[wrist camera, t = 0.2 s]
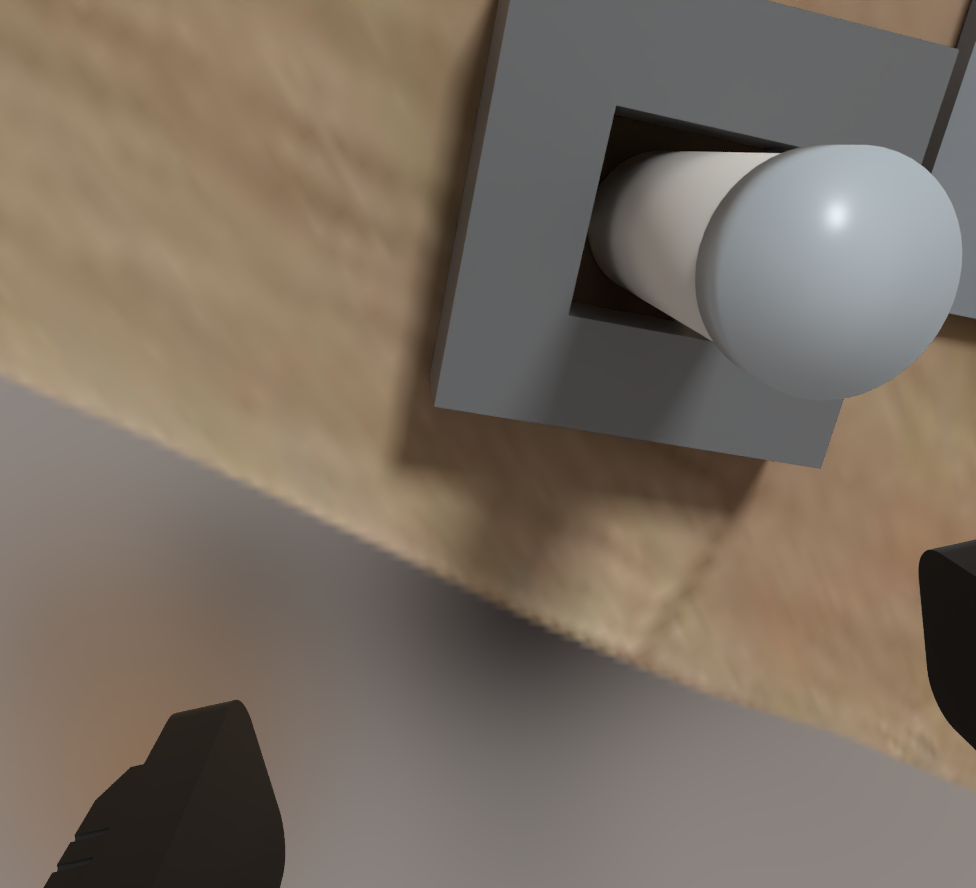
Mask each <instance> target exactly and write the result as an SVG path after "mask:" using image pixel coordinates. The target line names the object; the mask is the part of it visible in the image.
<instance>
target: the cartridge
mask: <svg viewBox="0 0 976 888" xmlns="http://www.w3.org/2000/svg"><path fill="white" fill-rule="evenodd" d="M588 240H589V244H590V248H591V251H592V254H593V257H594V259H595V260H596V262H597V264H598V266H599V267H600V269H601V270H602V271H603V273H604V274H605V275H606V276H607V277H608V278H609V279H610V280H612V281H613V282H614V283H615V284H617V285H619V286H621V287H622V288H624V289H626V290H627V291H629V292H631V293H632V294H634V295H636V296H637V297H639V298H641V299H642V300H644V301H646V302H647V303H649V304H651V305H652V306H654V307H656V308H657V309H659V310H661V311H662V312H664V313H666V314H667V315H669V316H671V317H672V318H674V319H676V320H678V321H679V322H681V323H683V324H684V325H686V326H688V327H689V328H691V329H693V330H694V331H696V332H698V333H699V334H701V335H703V336H704V337H706V338H708V339H709V340H711V341H713V342H714V343H715V345H716V346H717V348H718V349H719V350H720V351H721V352H722V353H723V354H724V355H725V356H726V357H727V358H728V359H729V360H730V361H731V362H733V363H734V364H735V365H736V366H738V367H739V368H741V369H742V370H744V371H746V372H747V373H749V374H750V375H752V376H754V377H755V378H757V379H758V380H760V381H762V382H763V383H765V384H767V385H768V386H770V387H772V388H773V389H775V390H777V391H780V392H782V393H785V394H787V395H790V396H794V397H798V398H802V399H809V400H836V399H843V398H849V397H852V396H856V395H859V394H862V393H865V392H867V391H870V390H872V389H875V388H877V387H879V386H881V385H882V384H884V383H886V382H888V381H890V380H891V379H893V378H894V377H896V376H897V375H898V374H900V373H901V372H902V371H904V370H905V369H906V368H908V367H909V366H910V365H911V364H912V363H913V362H914V361H915V360H916V359H917V358H918V357H919V356H920V355H921V354H922V353H923V352H924V351H925V350H926V348H927V347H928V346H929V345H930V344H931V342H932V341H933V339H934V338H935V336H936V335H937V334H938V332H939V331H940V329H941V327H942V325H943V323H944V322H945V320H946V318H947V316H948V314H949V311H950V309H951V307H952V304H953V302H954V299H955V296H956V292H957V289H958V285H959V280H960V274H961V269H962V240H961V232H960V227H959V223H958V219H957V216H956V213H955V210H954V208H953V205H952V203H951V201H950V199H949V197H948V195H947V194H946V192H945V190H944V189H943V187H942V186H941V185H940V183H939V182H938V181H937V179H936V178H935V177H934V176H933V175H932V174H931V173H930V172H929V171H928V170H927V169H926V168H924V167H923V166H922V165H920V164H919V163H917V162H916V161H915V160H913V159H912V158H910V157H908V156H906V155H904V154H902V153H900V152H897V151H894V150H891V149H887V148H884V147H879V146H872V145H811V146H804V147H799V148H796V149H792V150H788V151H785V152H783V153H744V152H698V151H651V152H646V153H642V154H639V155H636V156H634V157H631V158H629V159H628V160H626V161H624V162H623V163H621V164H620V165H618V166H617V167H616V168H615V169H613V171H612V172H611V173H610V174H609V175H608V176H607V177H606V178H605V179H604V181H603V182H602V183H601V185H600V186H599V188H598V190H597V192H596V196H595V201H594V205H593V209H592V214H591V218H590V223H589V227H588Z"/></svg>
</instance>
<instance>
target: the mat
mask: <svg viewBox="0 0 976 888" xmlns="http://www.w3.org/2000/svg"><path fill="white" fill-rule="evenodd" d="M956 49H959V52H958V55H957V58H956V61H955V64H954V67H953V70H952V73H951V76H950V80H949V83H948V86H947V89H946V92H945V95H944V98H943V101H942V104H941V107H940V110H939V113H938V116H937V119H936V122H935V125H934V128H933V131H932V134H931V137H930V140H929V143H928V146H927V149H926V152H925V155H924V158H923V161H922V164H921V165H922V166H923V167H924V168H926V169H927V170H928V171H929V172H930V173H931V174H932V175H933V176H934V177H935V178H936V179H937V181H938V182H939V183H940V185H941V186H942V187H943V189H944V190H945V192H946V194H947V195H948V197H949V199H950V201H951V203H952V205H953V208H954V210H955V213H956V216H957V219H958V223H959V227H960V232H961V240H962V269H961V274H960V280H959V285H958V289H957V292H956V296H955V299H954V302H953V304H952V307H951V309H950V311H949V313H950V314H955V315H960V316H965V317H970V318H975V319H976V0H972V2H971V5H970V8H969V11H968V14H967V17H966V20H965V23H964V26H963V29H962V32H961V35H960V39H959V42H958V45H957V48H956Z"/></svg>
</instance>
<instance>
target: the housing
mask: <svg viewBox="0 0 976 888" xmlns="http://www.w3.org/2000/svg"><path fill="white" fill-rule="evenodd" d="M958 52H959V49H956V48H952V47H948V46H944V45H940V44H936V43H932V42H928V41H924V40H920V39H917V38H913V37H909V36H905V35H901V34H897V33H893V32H889V31H885V30H881V29H877V28H873V27H870V26H866V25H862V24H858V23H854V22H850V21H846V20H842V19H838V18H834V17H830V16H826V15H823V14H819V13H815V12H811V11H807V10H803V9H799V8H795V7H791V6H787V5H783V4H780V3H776V2H772V1H768V0H498V6H497V11H496V17H495V22H494V28H493V33H492V39H491V44H490V49H489V55H488V60H487V66H486V71H485V77H484V82H483V88H482V93H481V99H480V104H479V109H478V115H477V120H476V126H475V131H474V137H473V142H472V148H471V153H470V159H469V164H468V169H467V175H466V180H465V186H464V191H463V197H462V202H461V208H460V213H459V218H458V224H457V229H456V235H455V240H454V246H453V251H452V257H451V262H450V268H449V273H448V278H447V284H446V289H445V295H444V300H443V306H442V311H441V317H440V322H439V328H438V333H437V338H436V344H435V349H434V355H433V360H432V366H431V371H430V377H429V383H430V388H431V393H432V399H433V404H434V407H439V408H445V409H451V410H457V411H464V412H470V413H476V414H482V415H489V416H495V417H501V418H507V419H514V420H520V421H526V422H532V423H539V424H545V425H551V426H557V427H564V428H570V429H576V430H582V431H589V432H595V433H601V434H607V435H614V436H620V437H626V438H632V439H639V440H645V441H651V442H657V443H664V444H670V445H676V446H682V447H689V448H695V449H701V450H707V451H714V452H720V453H726V454H732V455H739V456H745V457H751V458H757V459H764V460H770V461H776V462H782V463H789V464H795V465H801V466H807V467H814V468H820V469H821V466H822V463H823V460H824V457H825V454H826V451H827V448H828V445H829V442H830V439H831V436H832V433H833V430H834V427H835V424H836V421H837V418H838V415H839V412H840V409H841V406H842V403H843V400H844V398H843V399H836V400H809V399H802V398H798V397H794V396H790V395H787V394H785V393H782V392H780V391H777V390H775V389H773V388H772V387H770V386H768V385H767V384H765V383H763V382H762V381H760V380H758V379H757V378H755V377H754V376H752V375H750V374H749V373H747V372H746V371H744V370H742V369H741V368H739V367H738V366H736V365H735V364H734V363H733V362H731V361H730V360H729V359H728V358H727V357H726V356H725V355H724V354H723V353H722V352H721V351H720V350H719V349H718V348H717V346H716V345H715V343H714V342H713V341H711V340H709V339H708V338H706V337H704V336H703V335H701V334H699V333H698V332H696V331H694V330H693V329H691V328H689V327H688V326H686V325H684V324H683V323H681V322H677V321H672V320H666V319H661V318H656V317H650V316H645V315H639V314H634V313H629V312H623V311H618V310H612V309H607V308H602V307H596V306H591V305H586V304H580V303H575V302H572V297H573V293H574V289H575V284H576V280H577V275H578V271H579V267H580V262H581V258H582V253H583V249H584V245H585V240H586V236H587V231H588V227H589V223H590V218H591V214H592V209H593V205H594V201H595V196H596V192H597V187H598V183H599V179H600V174H601V170H602V165H603V161H604V157H605V152H606V148H607V143H608V139H609V135H610V130H611V126H612V121H613V117H614V115H617V116H621V117H626V118H630V119H634V120H639V121H643V122H648V123H652V124H657V125H661V126H666V127H670V128H675V129H679V130H683V131H688V132H692V133H697V134H701V135H706V136H710V137H715V138H719V139H724V140H728V141H732V142H737V143H741V144H746V145H750V146H755V147H759V148H764V149H766V153H783V152H785V151H788V150H792V149H796V148H799V147H804V146H811V145H872V146H879V147H884V148H887V149H891V150H894V151H897V152H900V153H902V154H904V155H906V156H908V157H910V158H912V159H913V160H915V161H916V162H917V163H919V164H920V165H921V164H922V161H923V158H924V155H925V152H926V149H927V146H928V143H929V140H930V137H931V134H932V131H933V128H934V125H935V122H936V119H937V116H938V113H939V110H940V107H941V104H942V101H943V98H944V95H945V92H946V89H947V86H948V83H949V80H950V76H951V73H952V70H953V67H954V64H955V61H956V58H957V55H958Z"/></svg>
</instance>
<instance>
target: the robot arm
mask: <svg viewBox="0 0 976 888" xmlns="http://www.w3.org/2000/svg"><path fill="white" fill-rule="evenodd" d="M919 585H920V596H921V606H922V617H923V628H924V639H925V650H926V661H927V671H928V677H929V682H930V685H931V689H932V692H933V694H934V697H935V699H936V702H937V704H938V706H939V708H940V710H941V712H942V713H943V715H944V717H945V718H946V720H947V721H948V722H949V724H950V725H951V726H952V727H953V728H954V729H955V730H956V731H957V732H958V733H959V734H960V735H961V736H962V737H963V738H964V739H965V740H966V741H967V742H968V743H969V744H970V745H971V746H972V747H973V748H974V749H975V750H976V540H972V541H967V542H963V543H958V544H954V545H949V546H944V547H940V548H935V549H931V550H927V551H925V552H924V553H923V554H922V556H921V558H920V562H919ZM284 865H285V838H284V830H283V823H282V819H281V814H280V811H279V808H278V804H277V801H276V798H275V795H274V792H273V788H272V785H271V782H270V779H269V776H268V773H267V769H266V766H265V763H264V760H263V756H262V753H261V750H260V747H259V744H258V740H257V737H256V734H255V731H254V728H253V724H252V721H251V718H250V716H249V714H248V711H247V709H246V707H245V706H244V705H243V703H242V702H241V701H239V700H233V701H229V702H225V703H220V704H215V705H210V706H206V707H201V708H197V709H192V710H188V711H183V712H179V713H175V714H173V715H172V716H170V718H169V719H168V721H167V723H166V724H165V726H164V728H163V730H162V732H161V734H160V736H159V738H158V739H157V741H156V743H155V745H154V747H153V749H152V750H151V752H150V754H149V756H148V758H147V760H146V761H145V763H144V764H143V765H138V766H134V767H130V768H129V769H128V770H127V771H126V772H125V773H124V774H123V775H122V776H121V777H120V778H119V779H118V780H117V781H116V782H114V784H112V785H111V786H110V787H109V788H108V789H107V790H106V791H105V792H104V793H103V794H102V795H101V796H100V797H98V798H97V800H95V802H94V804H93V805H92V807H91V809H90V811H89V812H88V814H87V815H86V817H85V819H84V821H83V822H82V824H81V825H80V827H79V829H78V831H77V832H76V834H75V842H70V844H69V846H68V847H67V849H66V851H65V852H64V854H63V856H62V857H61V859H60V861H59V863H58V864H57V867H58V871H57V872H54V873H52V874H51V876H50V878H49V879H48V881H47V883H46V884H45V886H44V888H280V885H281V881H282V877H283V872H284Z"/></svg>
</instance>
